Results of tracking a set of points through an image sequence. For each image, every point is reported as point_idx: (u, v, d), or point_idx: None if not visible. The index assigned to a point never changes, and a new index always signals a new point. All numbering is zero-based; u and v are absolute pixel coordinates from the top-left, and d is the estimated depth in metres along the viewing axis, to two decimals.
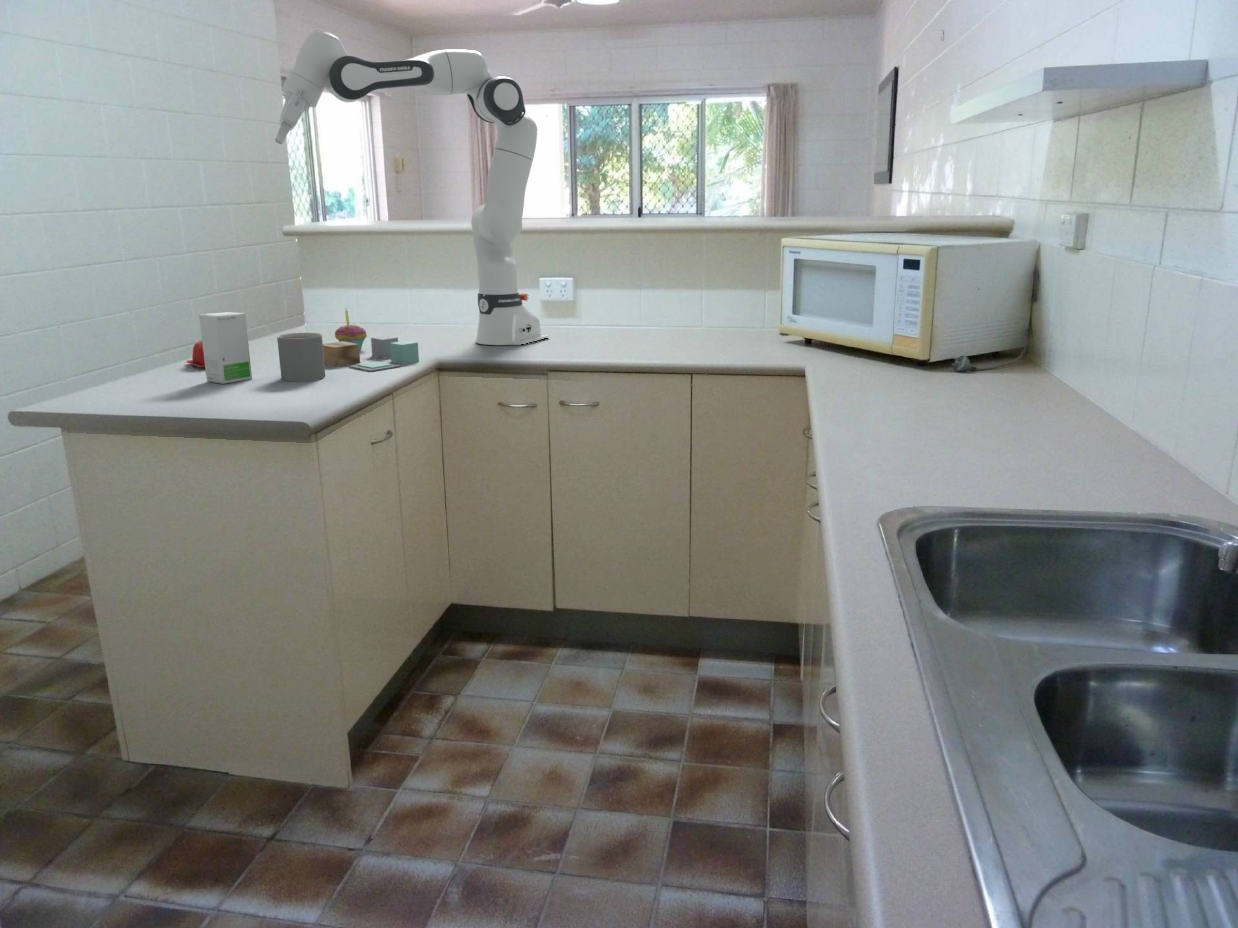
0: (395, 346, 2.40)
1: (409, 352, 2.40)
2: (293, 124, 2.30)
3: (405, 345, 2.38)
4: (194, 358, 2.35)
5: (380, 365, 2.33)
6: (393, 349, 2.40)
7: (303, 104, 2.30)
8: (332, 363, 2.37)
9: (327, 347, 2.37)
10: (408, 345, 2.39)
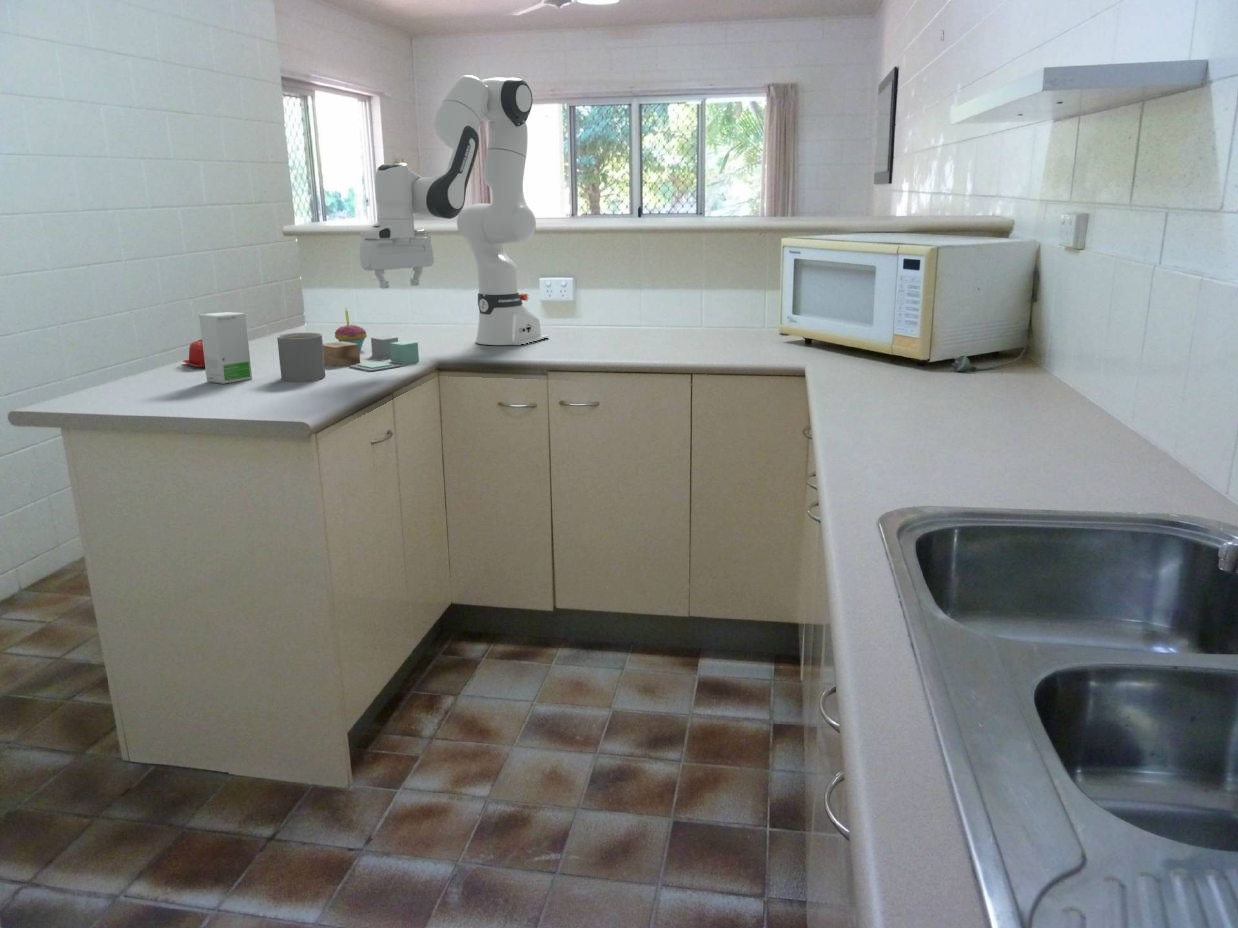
0: (395, 346, 2.40)
1: (409, 352, 2.40)
2: None
3: (405, 345, 2.38)
4: (190, 358, 2.36)
5: (380, 365, 2.33)
6: (393, 349, 2.40)
7: None
8: (332, 363, 2.37)
9: (327, 347, 2.36)
10: (408, 345, 2.39)
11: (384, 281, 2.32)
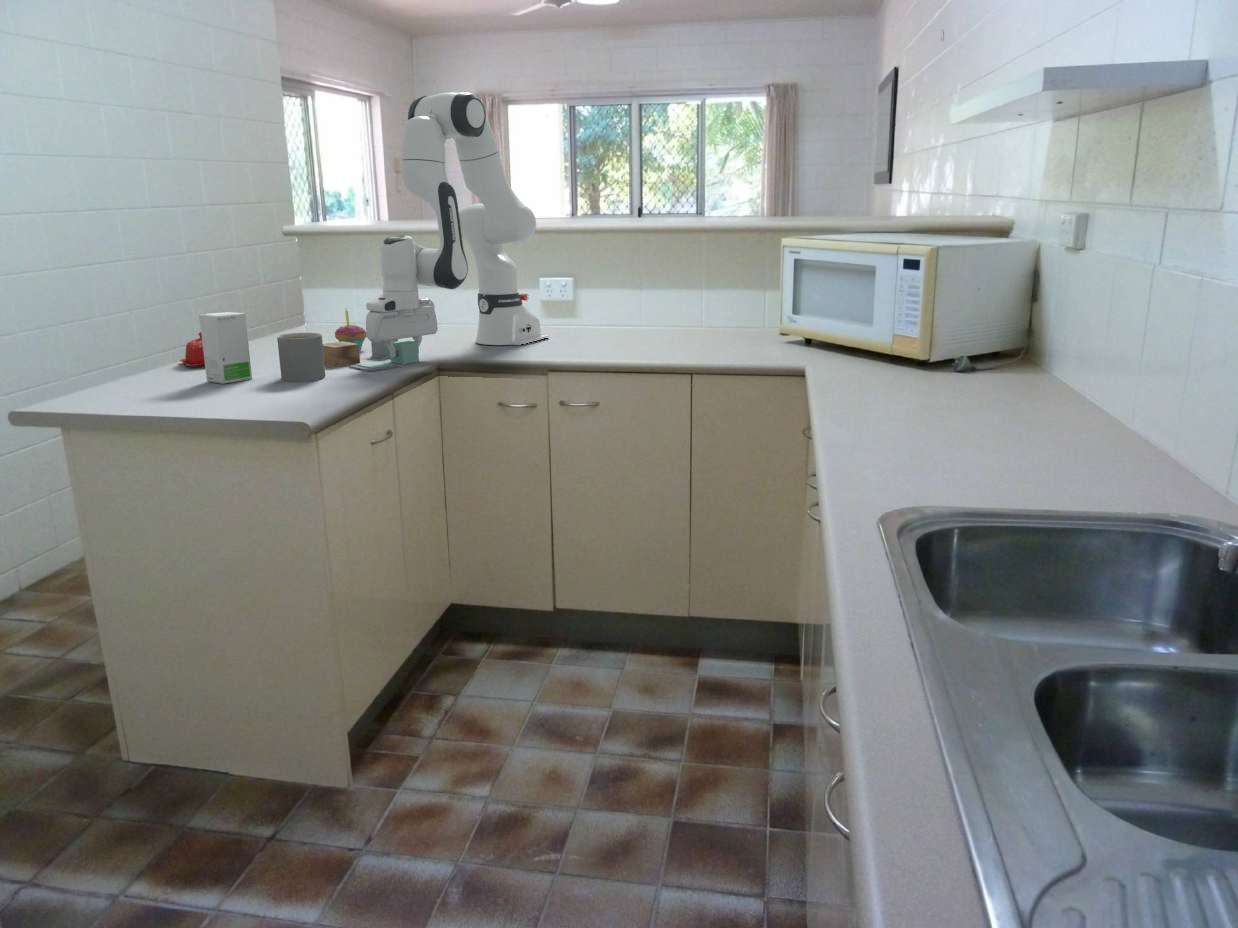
0: (395, 346, 2.40)
1: (409, 352, 2.40)
2: None
3: (405, 345, 2.38)
4: (186, 357, 2.37)
5: (380, 365, 2.33)
6: None
7: None
8: (332, 363, 2.37)
9: (327, 347, 2.36)
10: (408, 345, 2.39)
11: (394, 350, 2.38)
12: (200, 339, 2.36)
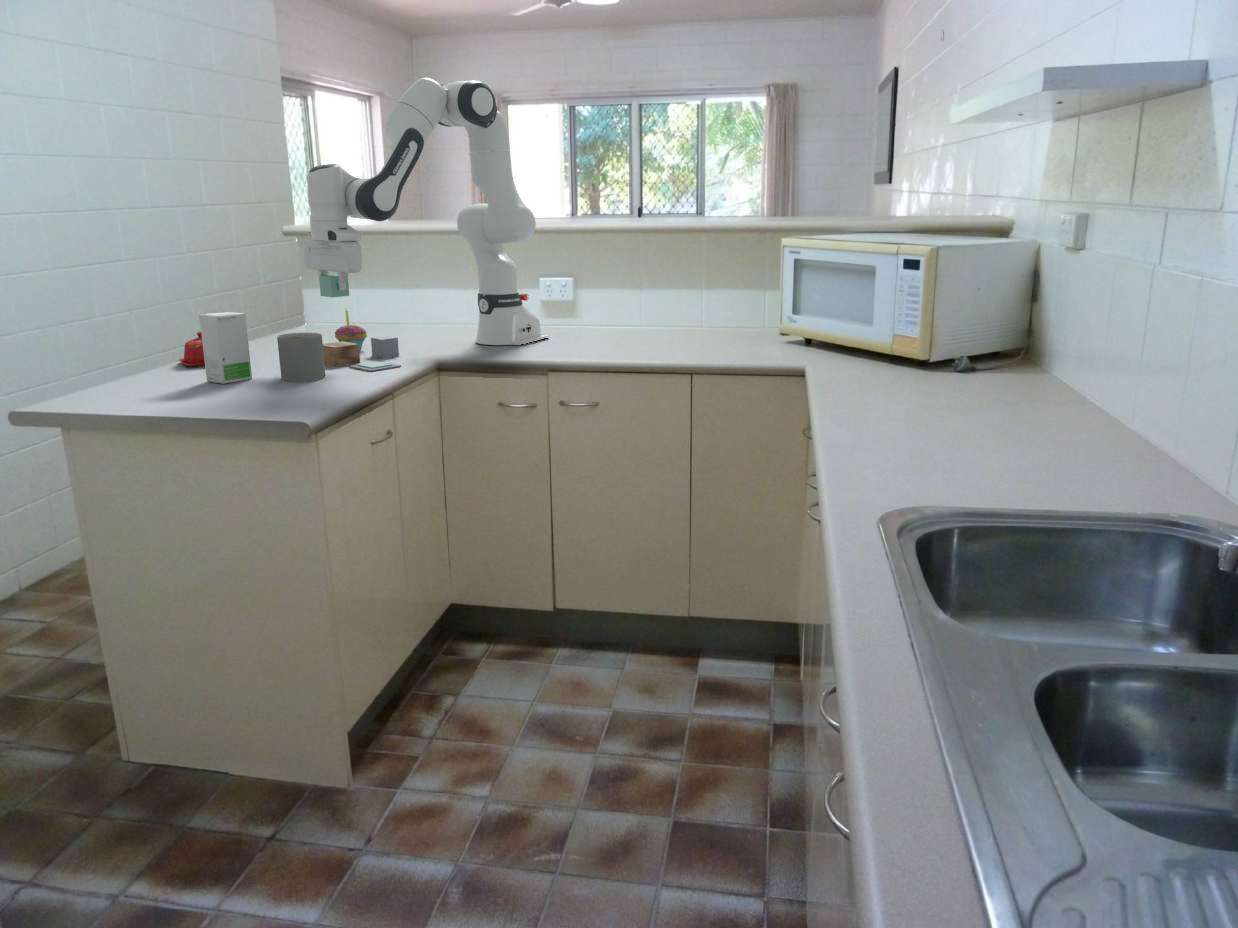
0: (338, 279, 2.33)
1: None
2: None
3: None
4: (184, 356, 2.37)
5: (380, 365, 2.33)
6: (336, 283, 2.32)
7: None
8: (332, 363, 2.37)
9: (327, 347, 2.36)
10: None
11: None
12: (198, 339, 2.36)
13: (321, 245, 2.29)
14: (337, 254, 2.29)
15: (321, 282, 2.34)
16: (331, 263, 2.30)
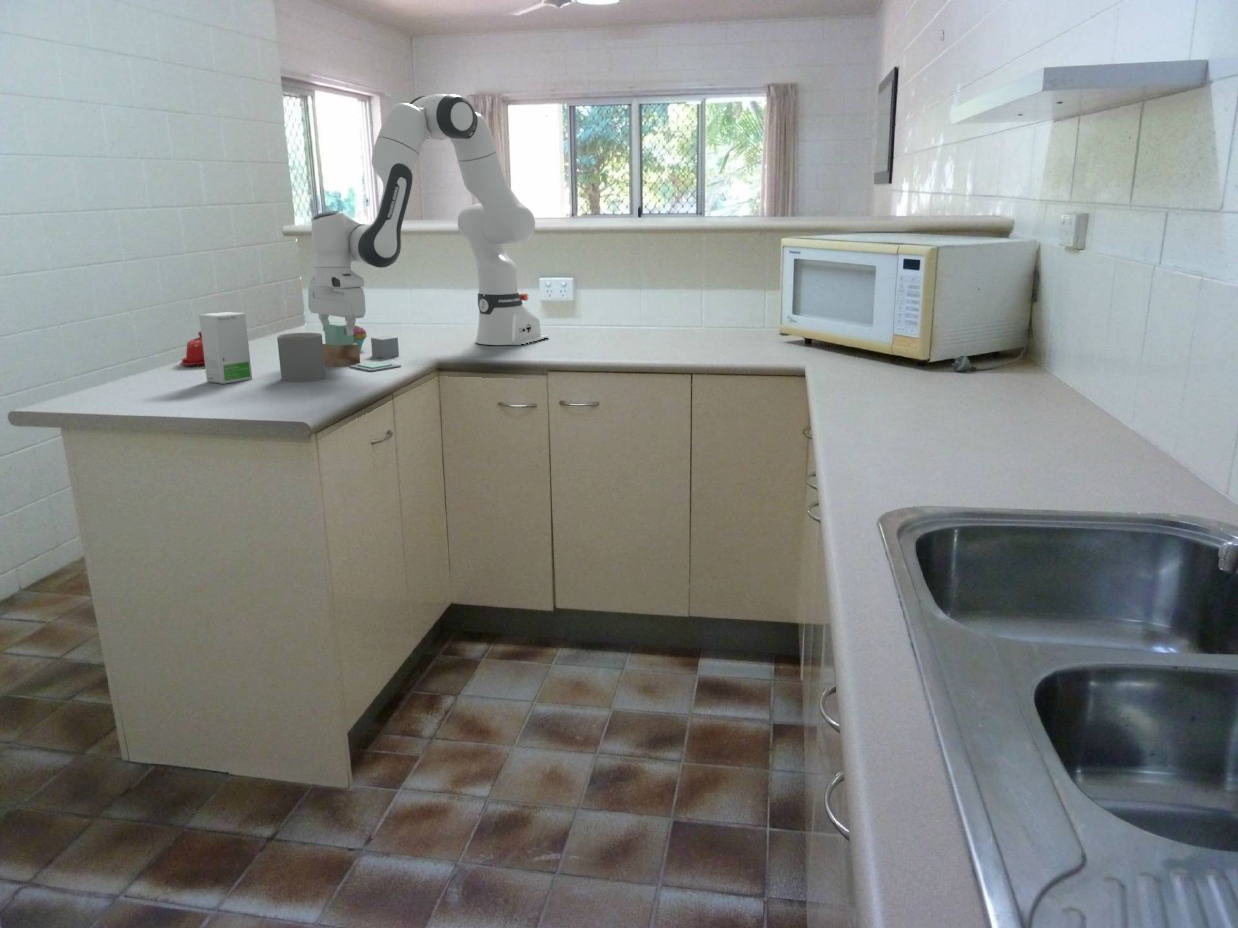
0: (342, 328, 2.36)
1: None
2: None
3: None
4: (186, 355, 2.39)
5: (380, 365, 2.33)
6: (340, 332, 2.36)
7: None
8: (332, 363, 2.37)
9: (327, 347, 2.37)
10: None
11: None
12: (198, 338, 2.37)
13: (325, 291, 2.33)
14: (341, 300, 2.32)
15: (326, 331, 2.37)
16: (335, 308, 2.34)
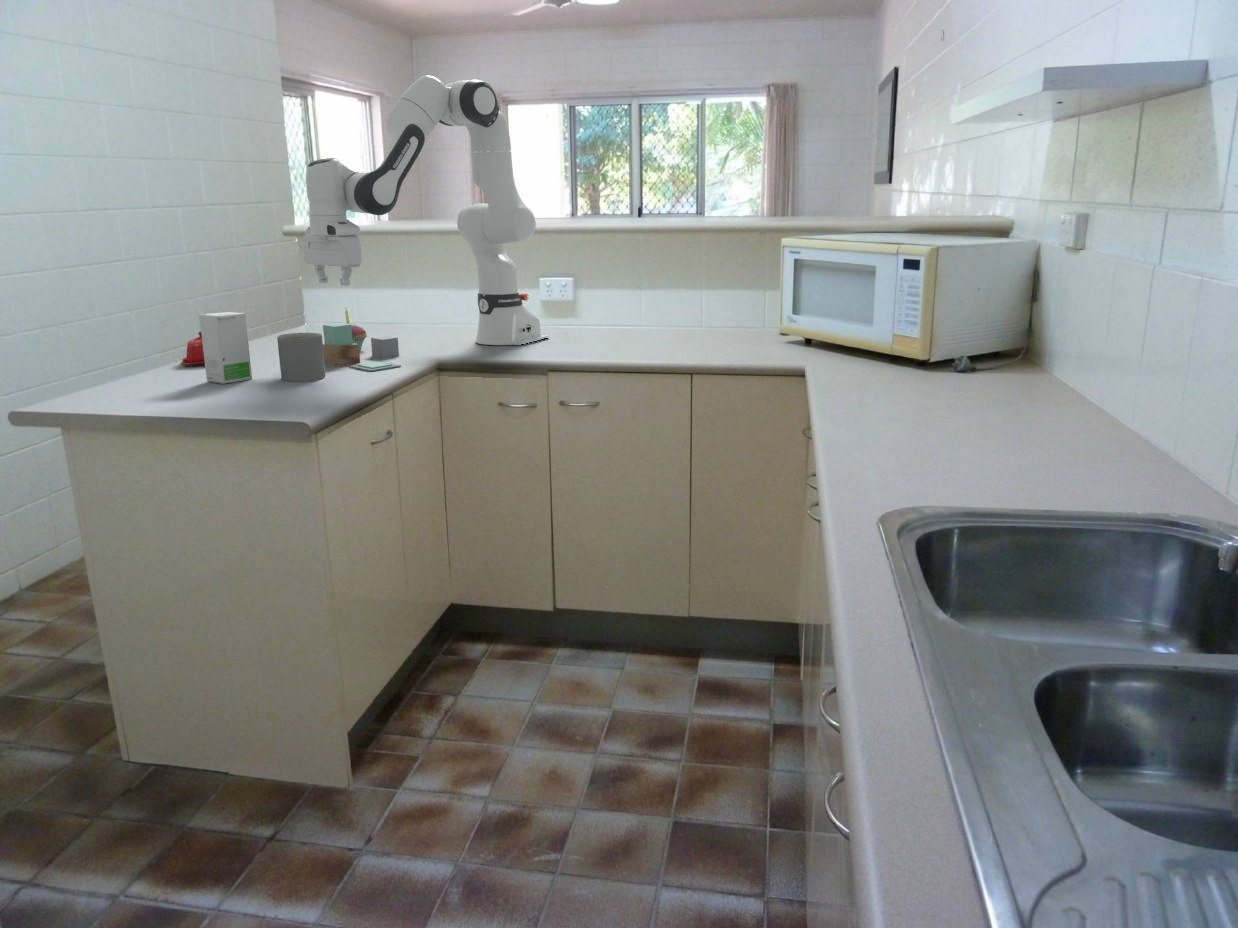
0: (341, 328, 2.36)
1: None
2: None
3: None
4: None
5: (380, 365, 2.33)
6: (339, 332, 2.36)
7: None
8: (332, 363, 2.37)
9: (327, 347, 2.36)
10: None
11: None
12: (199, 338, 2.37)
13: (320, 240, 2.29)
14: (336, 249, 2.28)
15: (325, 331, 2.37)
16: (331, 258, 2.30)
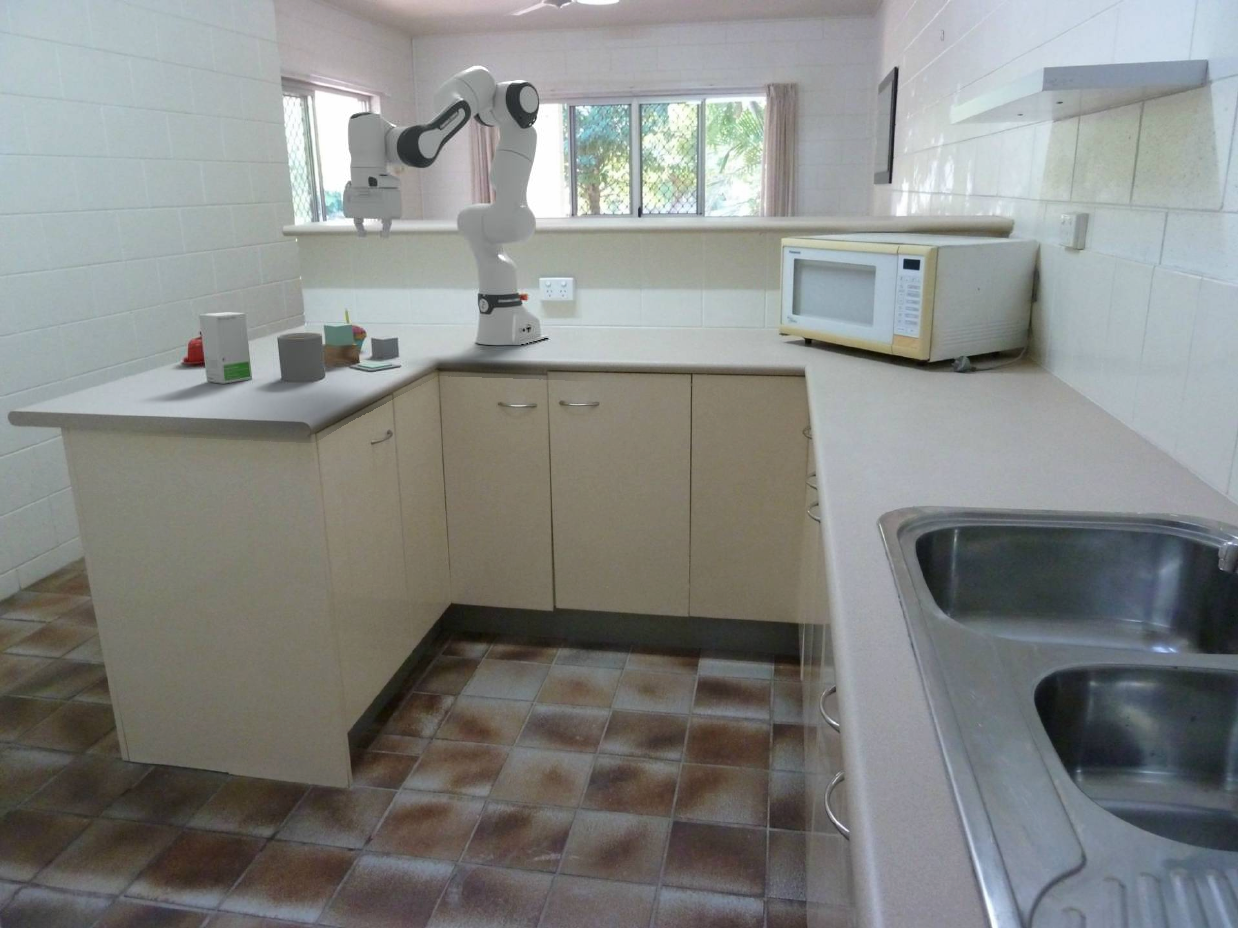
0: (342, 328, 2.36)
1: None
2: None
3: None
4: None
5: (380, 365, 2.33)
6: (340, 332, 2.36)
7: None
8: (332, 363, 2.36)
9: (327, 347, 2.36)
10: None
11: None
12: (200, 338, 2.38)
13: (361, 192, 2.31)
14: (377, 201, 2.30)
15: (326, 331, 2.37)
16: (371, 210, 2.32)
